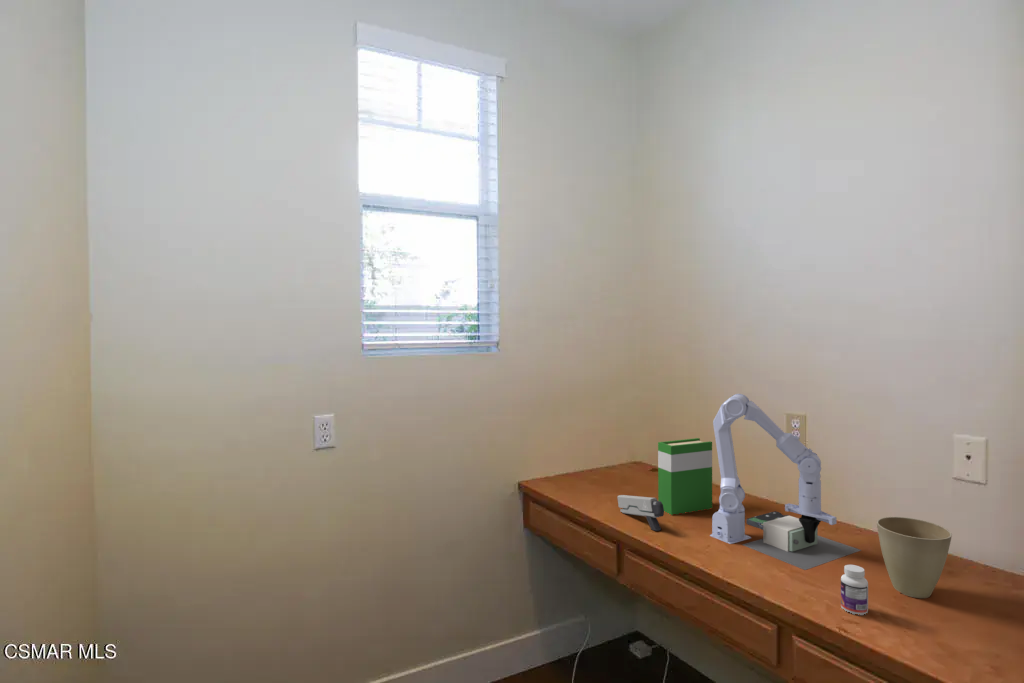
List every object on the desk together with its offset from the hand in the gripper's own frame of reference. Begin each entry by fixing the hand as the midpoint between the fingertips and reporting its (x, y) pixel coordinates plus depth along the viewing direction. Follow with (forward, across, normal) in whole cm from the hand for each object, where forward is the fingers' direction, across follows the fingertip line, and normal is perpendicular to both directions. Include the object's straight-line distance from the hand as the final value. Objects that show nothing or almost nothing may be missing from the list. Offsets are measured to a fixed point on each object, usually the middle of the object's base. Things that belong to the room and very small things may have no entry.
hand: (809, 542), depth 163 cm
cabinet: (+2, +6, +1) cm, 7 cm away
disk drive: (+3, +18, -9) cm, 21 cm away
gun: (+2, +44, +26) cm, 51 cm away
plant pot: (+3, -28, +2) cm, 28 cm away
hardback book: (+2, +45, +3) cm, 45 cm away
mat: (+2, +2, +1) cm, 3 cm away
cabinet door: (+2, +1, +1) cm, 2 cm away
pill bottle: (+3, -26, +23) cm, 35 cm away
